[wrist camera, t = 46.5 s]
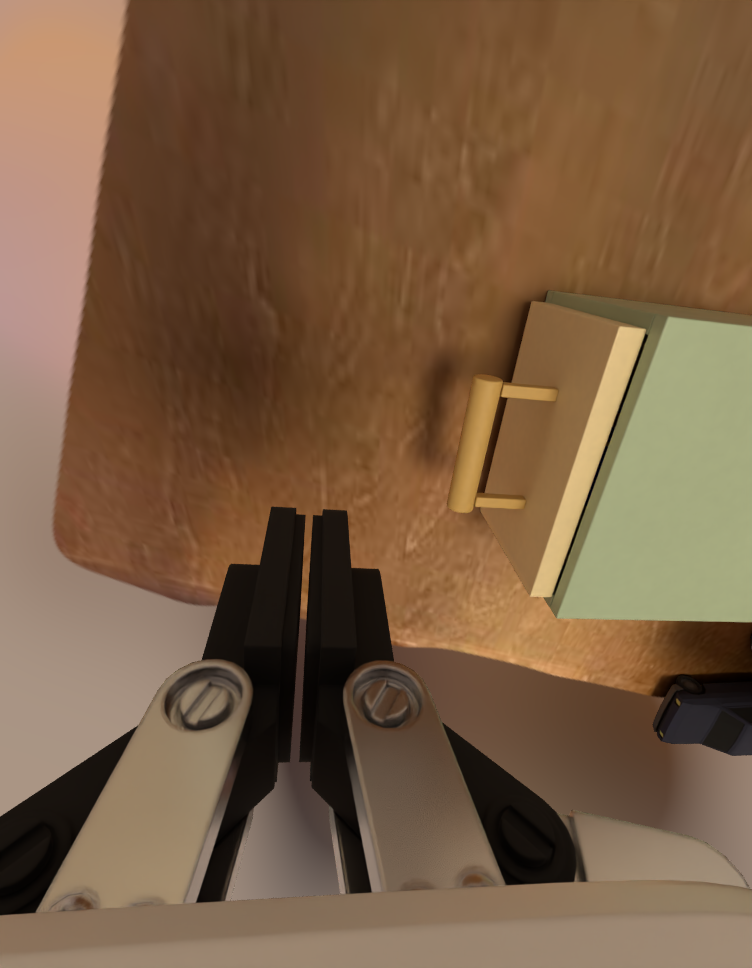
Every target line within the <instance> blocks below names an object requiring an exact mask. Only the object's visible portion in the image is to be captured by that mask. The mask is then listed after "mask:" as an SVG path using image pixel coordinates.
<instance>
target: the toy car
mask: <svg viewBox="0 0 752 968" xmlns="http://www.w3.org/2000/svg"><path fill="white" fill-rule="evenodd" d="M653 728H654V732H657V736H658V738H659V739H660V740H661V741H663V742H666V743H671V744H694V743H695V744H702V745H705V746H707V747H710V748H713V749H716V750H718V751H721V752H724V753H727V754H729V755H732V756H741V755H752V682H729V683H709V684H706V683H704V684H702V685H700V684H699V683H698V682H697V681H696V680H695V679H693V678H691V677H689V676H685V675H680V676H679V677H677V679H676V684H674V685H672V687H671V688H670V690H669V691H668V693H667V695H666V697H665V698H664V700H663V702H662V704H661V706H660V708H659V710H658V712H657V715H656V717H655V720H654V722H653Z"/></svg>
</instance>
